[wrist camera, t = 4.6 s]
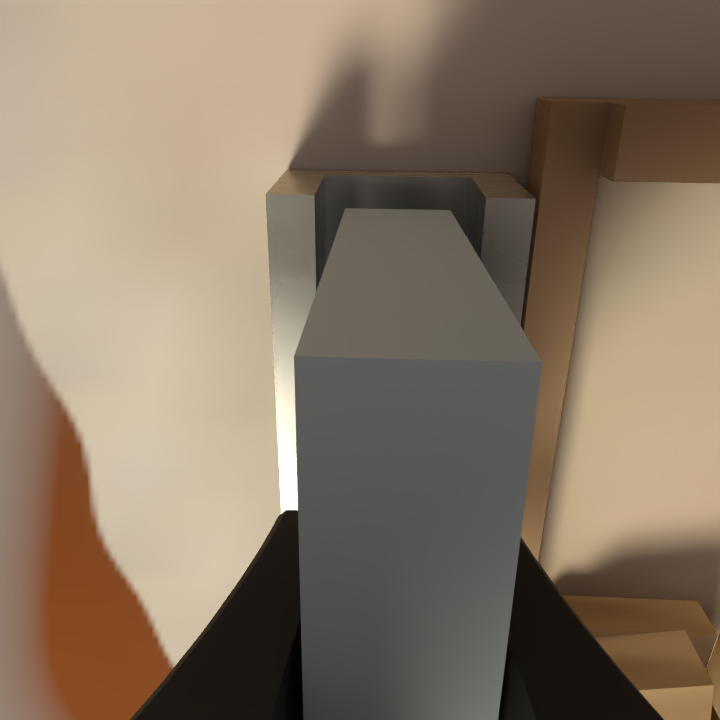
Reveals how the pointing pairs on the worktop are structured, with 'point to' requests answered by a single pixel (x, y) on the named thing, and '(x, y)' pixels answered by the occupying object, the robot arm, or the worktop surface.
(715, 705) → the offcut
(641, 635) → the offcut
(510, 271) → the holder
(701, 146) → the wooden tray
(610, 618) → the offcut
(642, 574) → the worktop surface
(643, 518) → the worktop surface
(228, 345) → the worktop surface
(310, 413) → the grey flat block
